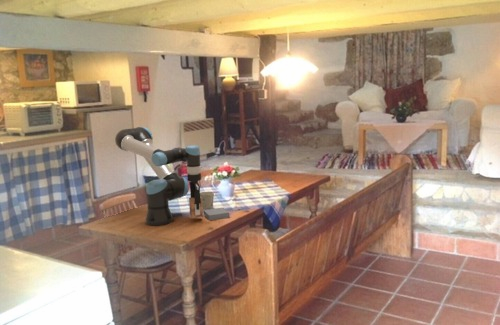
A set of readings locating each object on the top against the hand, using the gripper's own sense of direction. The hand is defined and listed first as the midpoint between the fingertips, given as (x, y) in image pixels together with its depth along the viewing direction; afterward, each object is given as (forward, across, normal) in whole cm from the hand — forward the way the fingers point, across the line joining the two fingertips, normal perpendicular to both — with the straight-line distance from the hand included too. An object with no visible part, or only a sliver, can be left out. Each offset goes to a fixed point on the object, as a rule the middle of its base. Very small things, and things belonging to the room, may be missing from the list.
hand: (196, 213), depth 268 cm
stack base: (+4, +2, -12) cm, 13 cm away
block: (+1, 0, 0) cm, 1 cm away
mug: (+4, +21, -10) cm, 23 cm away
